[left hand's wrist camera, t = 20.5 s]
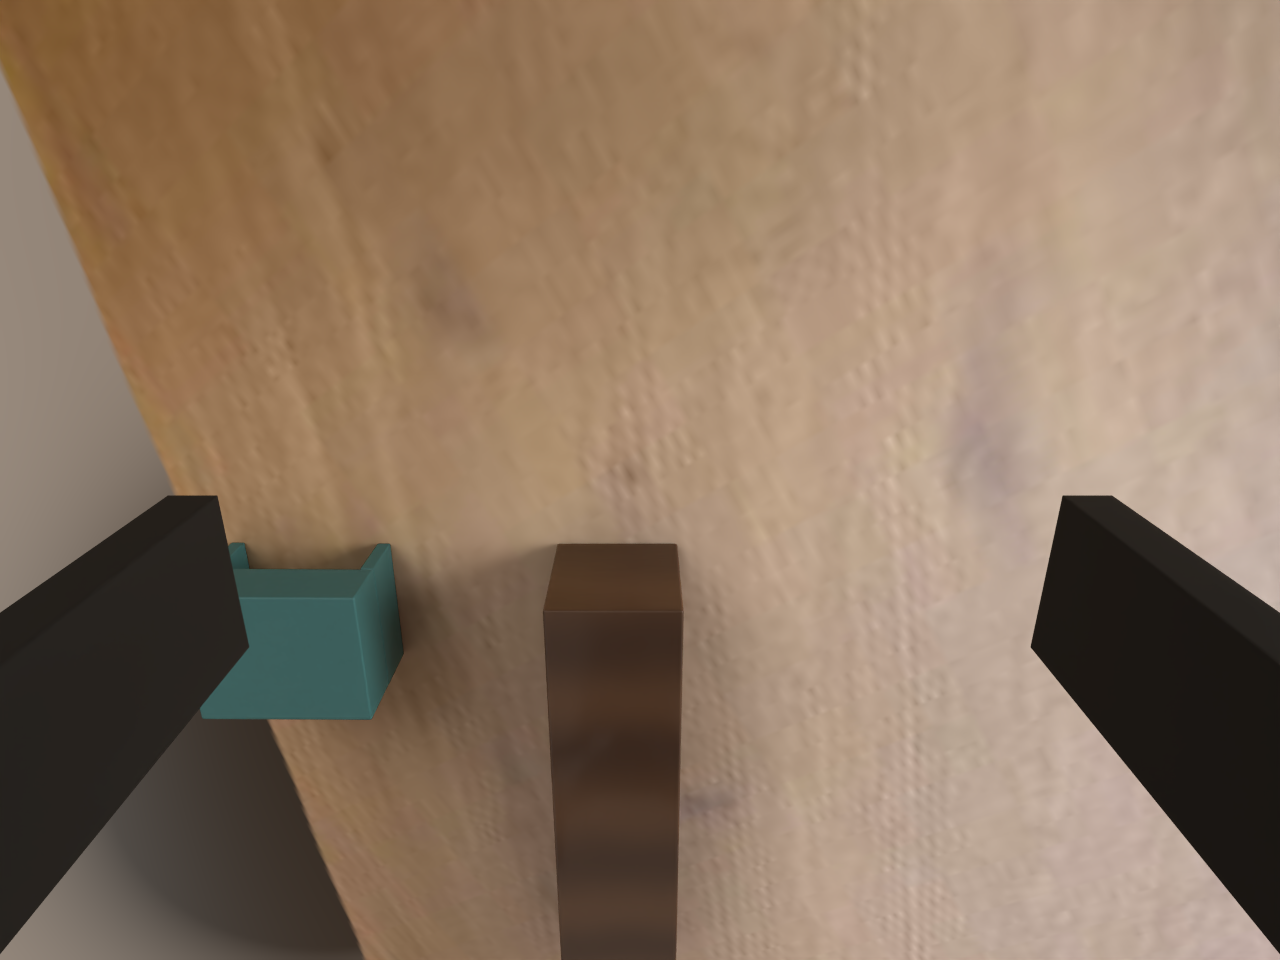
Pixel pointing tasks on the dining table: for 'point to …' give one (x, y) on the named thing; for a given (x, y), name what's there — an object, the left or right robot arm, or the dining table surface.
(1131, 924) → the dining table surface
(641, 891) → the bar
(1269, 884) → the left robot arm
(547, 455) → the dining table surface
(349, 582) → the teal u-shaped block
